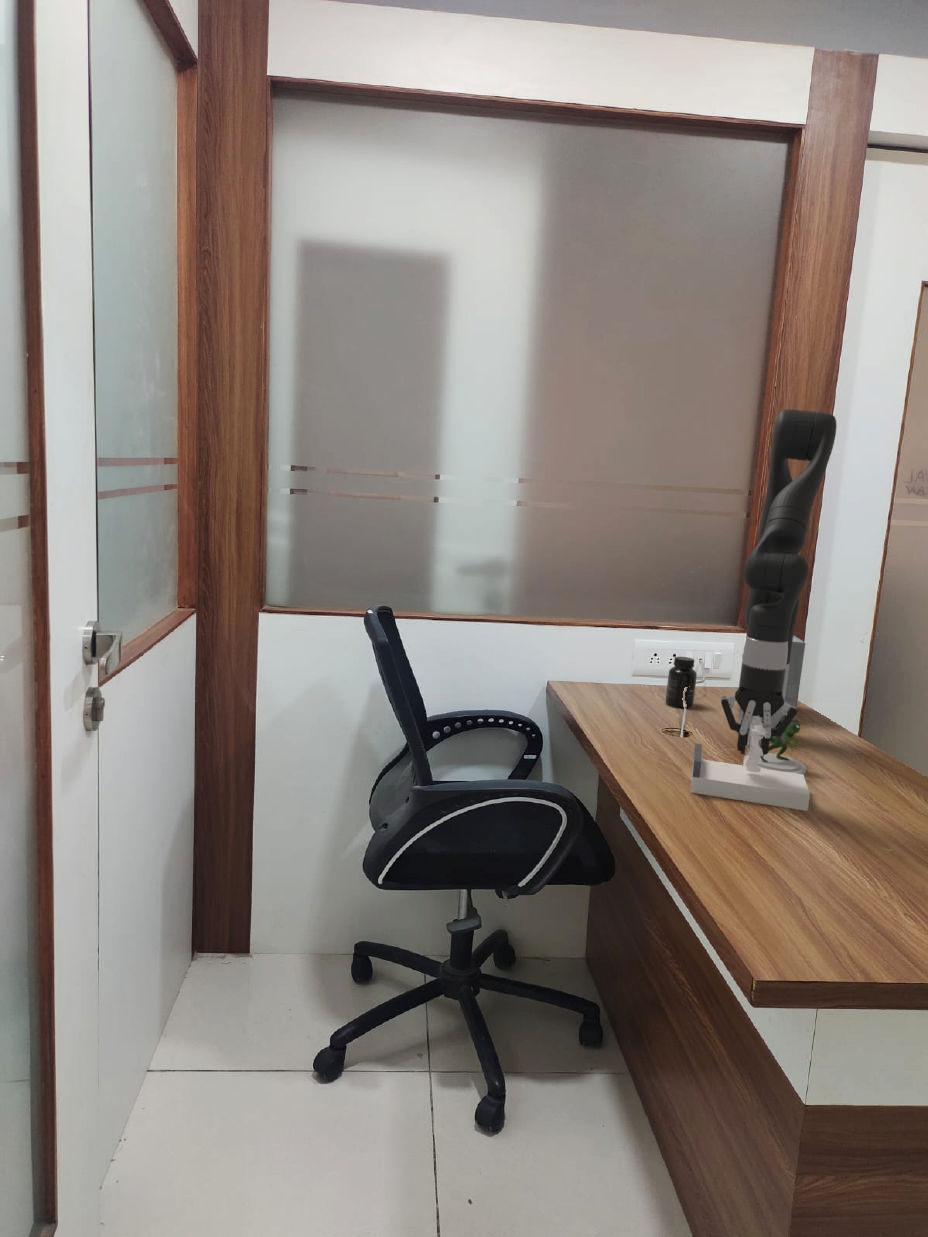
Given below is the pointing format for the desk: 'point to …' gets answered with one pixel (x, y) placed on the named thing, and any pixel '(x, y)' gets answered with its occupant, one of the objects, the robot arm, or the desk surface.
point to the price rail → (697, 760)
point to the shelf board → (751, 785)
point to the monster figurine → (778, 760)
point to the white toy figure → (754, 743)
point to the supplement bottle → (681, 682)
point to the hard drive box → (794, 672)
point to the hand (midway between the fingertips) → (751, 754)
